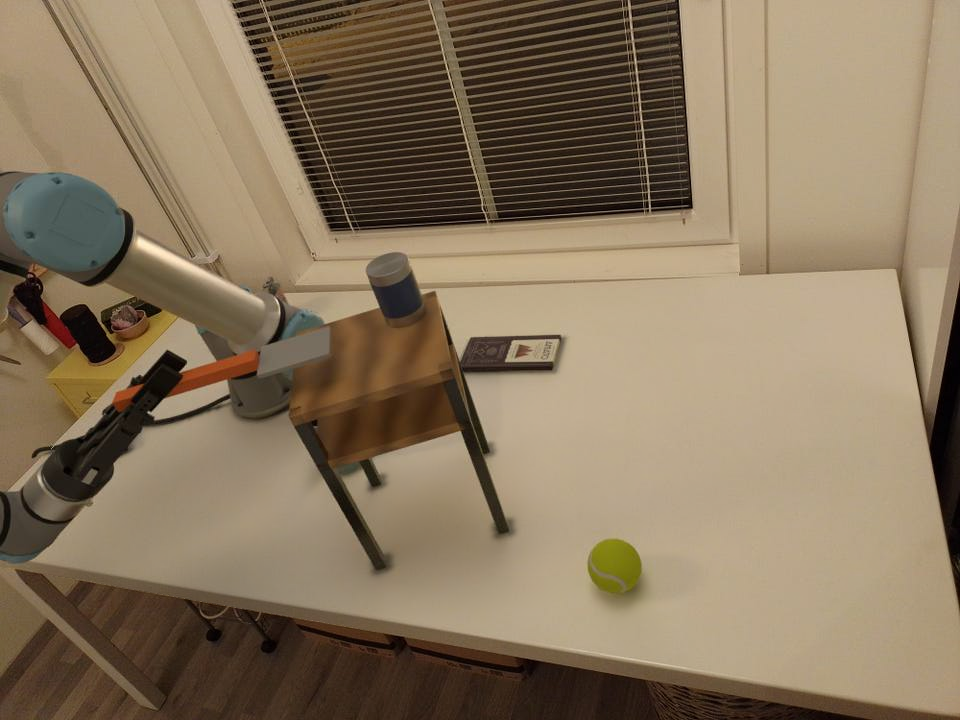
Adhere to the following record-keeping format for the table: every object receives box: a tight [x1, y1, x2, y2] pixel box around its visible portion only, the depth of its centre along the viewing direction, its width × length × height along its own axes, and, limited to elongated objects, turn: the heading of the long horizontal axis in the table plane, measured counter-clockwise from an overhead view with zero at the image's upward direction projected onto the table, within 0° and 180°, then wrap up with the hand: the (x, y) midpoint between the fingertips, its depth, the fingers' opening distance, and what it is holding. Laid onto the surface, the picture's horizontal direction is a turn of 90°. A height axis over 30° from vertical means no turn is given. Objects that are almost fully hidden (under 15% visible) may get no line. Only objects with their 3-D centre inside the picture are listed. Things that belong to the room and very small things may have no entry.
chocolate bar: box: [459, 334, 562, 372], centre depth 131 cm, size 9×1×18 cm
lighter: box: [261, 276, 290, 305], centre depth 160 cm, size 8×3×10 cm, turn 179°
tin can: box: [365, 251, 426, 328], centre depth 91 cm, size 6×6×8 cm
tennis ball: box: [587, 538, 643, 594], centre depth 88 cm, size 7×7×7 cm
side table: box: [288, 290, 510, 571], centre depth 99 cm, size 20×18×31 cm
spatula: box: [111, 326, 331, 412], centre depth 85 cm, size 27×6×2 cm, turn 99°
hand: (174, 364), depth 84 cm, fingers closed on spatula, 2 cm apart
